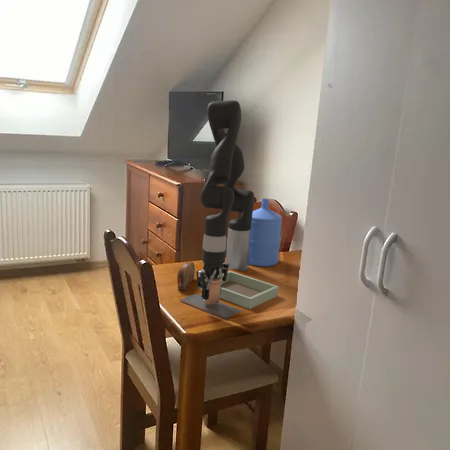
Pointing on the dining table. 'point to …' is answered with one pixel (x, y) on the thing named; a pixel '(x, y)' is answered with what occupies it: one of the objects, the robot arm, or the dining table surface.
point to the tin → (185, 275)
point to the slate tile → (210, 306)
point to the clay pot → (214, 291)
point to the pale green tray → (246, 290)
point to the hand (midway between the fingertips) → (211, 296)
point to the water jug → (265, 236)
